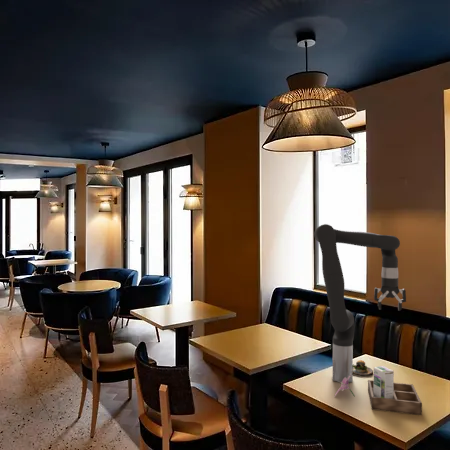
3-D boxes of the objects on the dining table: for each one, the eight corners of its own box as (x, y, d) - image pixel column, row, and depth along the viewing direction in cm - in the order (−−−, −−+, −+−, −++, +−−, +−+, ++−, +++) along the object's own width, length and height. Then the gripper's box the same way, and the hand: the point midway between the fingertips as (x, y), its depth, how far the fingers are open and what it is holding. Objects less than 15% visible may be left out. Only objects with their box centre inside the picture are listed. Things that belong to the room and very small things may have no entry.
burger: (343, 372, 199) (343, 358, 198) (354, 366, 207) (354, 352, 207) (366, 379, 190) (366, 364, 190) (377, 372, 198) (377, 358, 198)
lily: (347, 389, 180) (336, 371, 181) (368, 387, 172) (357, 368, 172) (334, 406, 172) (323, 386, 173) (356, 405, 163) (344, 384, 164)
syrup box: (372, 401, 164) (372, 367, 164) (383, 399, 166) (384, 365, 166) (382, 407, 159) (382, 371, 159) (394, 405, 161) (394, 370, 161)
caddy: (371, 409, 159) (371, 397, 159) (368, 390, 177) (368, 379, 177) (421, 415, 154) (421, 403, 154) (412, 395, 172) (412, 384, 172)
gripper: (375, 277, 189) (374, 310, 189) (407, 278, 185) (407, 312, 185) (373, 275, 196) (373, 307, 196) (404, 276, 192) (404, 309, 193)
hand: (389, 310), depth 191 cm, fingers open, 8 cm apart
